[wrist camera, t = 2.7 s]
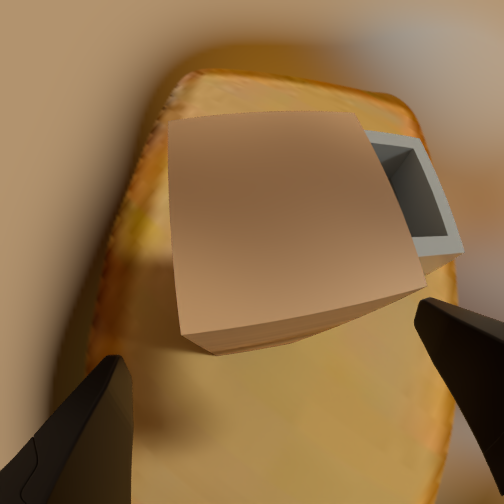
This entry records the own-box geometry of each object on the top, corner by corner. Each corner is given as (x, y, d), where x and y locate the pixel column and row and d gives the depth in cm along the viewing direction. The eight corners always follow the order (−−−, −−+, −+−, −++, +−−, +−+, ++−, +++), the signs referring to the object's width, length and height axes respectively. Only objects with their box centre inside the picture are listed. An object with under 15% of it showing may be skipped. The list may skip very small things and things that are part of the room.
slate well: (427, 274, 19) (464, 252, 15) (313, 287, 18) (339, 263, 14) (394, 171, 23) (419, 138, 18) (292, 167, 22) (305, 124, 17)
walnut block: (291, 343, 17) (427, 286, 5) (216, 355, 16) (180, 334, 4) (276, 272, 18) (354, 112, 6) (205, 283, 18) (168, 121, 6)
